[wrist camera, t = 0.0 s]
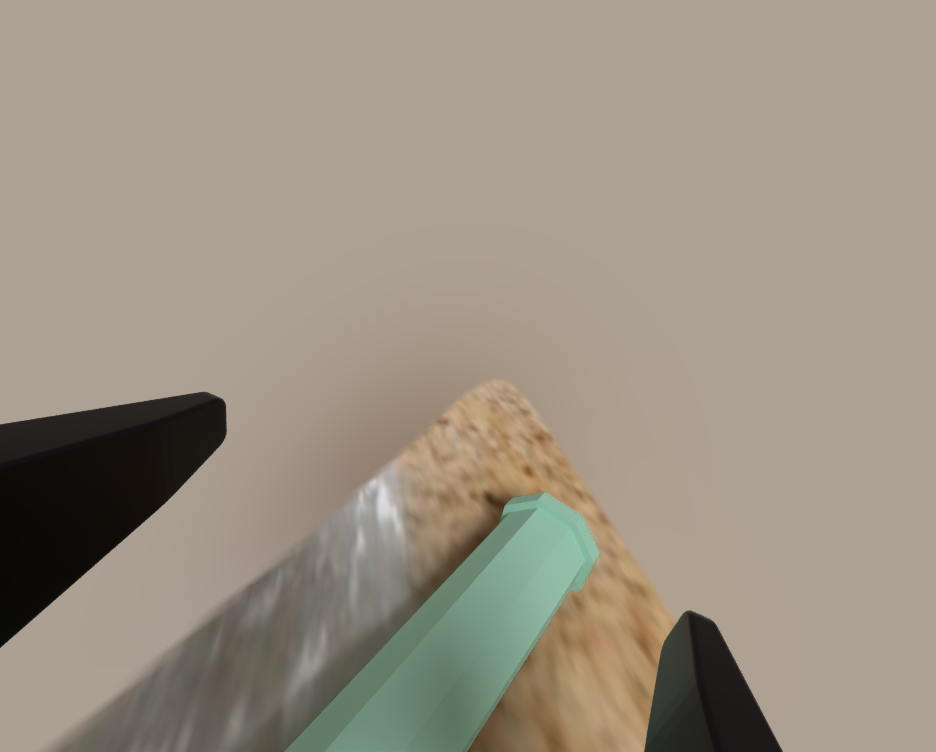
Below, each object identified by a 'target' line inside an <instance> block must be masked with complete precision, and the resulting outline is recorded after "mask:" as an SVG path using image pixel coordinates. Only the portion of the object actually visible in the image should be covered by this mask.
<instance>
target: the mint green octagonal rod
mask: <svg viewBox="0 0 936 752" xmlns="http://www.w3.org/2000/svg"><path fill="white" fill-rule="evenodd" d="M599 554H600V552H599V550H598V548H597V546H596V544H595V541H594V539H593V537H592V535H591V533H590V531H589V529H588V526H587V524H586V522H585V520H584V518H583V516H582V515H581V514H580V513H578V512H576V511H575V510H573V509H571V508H570V507H568V506H567V505H565V504H563V503H562V502H560V501H558V500H557V499H555V498H553V497H552V496H550V495H549V494H547V493H545V492H543V493H537V494H531V495H526V496H520V497H514V498H512V499H511V500H510V501H509V502H508V503H507V504H506V505H505V507H504V510H503V513H502V516H501V519H500V522H499V525H498V526H497V527H496V528H495V529H494V530H493V531H492V532H491V533H490V534H489V535H488V536H487V537H486V538H485V540H484V541H483V542H482V543H481V544H480V545H479V546H478V547H477V548H476V549H475V550H474V551H473V552H472V553H471V554H470V555H469V557H468V558H467V559H466V560H465V561H464V562H463V563H462V564H461V565H460V566H459V567H458V568H457V569H456V570H455V571H454V572H453V573H452V575H451V576H450V577H449V578H448V579H447V580H446V581H445V582H444V583H443V584H442V585H441V586H440V587H439V588H438V589H437V590H436V591H435V593H434V594H433V595H432V596H431V597H430V598H429V599H428V600H427V601H426V602H425V603H424V604H423V605H422V606H421V607H420V608H419V609H418V611H417V612H416V613H415V614H414V615H413V616H412V617H411V618H410V619H409V620H408V621H407V622H406V623H405V624H404V625H403V626H402V627H401V629H400V630H399V631H398V632H397V633H396V634H395V635H394V636H393V637H392V638H391V639H390V640H389V641H388V642H387V643H386V644H385V645H384V647H383V648H382V649H381V650H380V651H379V652H378V653H377V654H376V655H375V656H374V657H373V658H372V659H371V660H370V661H369V662H368V663H367V665H366V666H365V667H364V668H363V669H362V670H361V671H360V672H359V673H358V674H357V675H356V676H355V677H354V678H353V679H352V680H351V681H350V683H349V684H348V685H347V686H346V687H345V688H344V689H343V690H342V691H341V692H340V693H339V694H338V695H337V696H336V697H335V698H334V699H333V701H332V702H331V703H330V704H329V705H328V706H327V707H326V708H325V709H324V710H323V711H322V712H321V713H320V714H319V715H318V716H317V718H316V719H315V720H314V721H313V722H312V723H311V724H310V725H309V726H308V727H307V728H306V729H305V730H304V731H303V732H302V733H301V734H300V736H299V737H298V738H297V739H296V740H295V741H294V742H293V743H292V744H291V745H290V746H289V747H288V748H287V749H286V750H285V751H284V752H467V751H468V750H469V748H470V747H471V745H472V744H473V742H474V740H475V739H476V737H477V736H478V734H479V733H480V731H481V729H482V728H483V726H484V725H485V723H486V722H487V720H488V718H489V717H490V715H491V714H492V712H493V711H494V709H495V707H496V706H497V704H498V703H499V701H500V700H501V698H502V696H503V695H504V693H505V692H506V690H507V689H508V687H509V685H510V684H511V682H512V681H513V679H514V678H515V676H516V674H517V673H518V671H519V670H520V668H521V667H522V665H523V663H524V662H525V660H526V659H527V657H528V656H529V654H530V652H531V651H532V649H533V648H534V646H535V645H536V643H537V641H538V640H539V638H540V637H541V635H542V634H543V632H544V630H545V629H546V627H547V626H548V624H549V623H550V621H551V619H552V618H553V616H554V615H555V613H556V612H557V610H558V608H559V607H560V605H561V604H562V602H563V601H564V599H565V597H566V596H567V594H568V593H569V591H580V590H581V588H582V587H583V585H584V584H585V582H586V580H587V578H588V576H589V574H590V572H591V570H592V568H593V566H594V564H595V562H596V560H597V558H598V556H599Z"/></svg>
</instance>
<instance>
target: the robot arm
mask: <svg viewBox="0 0 936 752" xmlns="http://www.w3.org/2000/svg"><path fill="white" fill-rule="evenodd" d="M226 432H227V428H226V404H225V402H224V400H223V399H221V398H219V397H217V396H215V395H213V394H210V393H208V392H199V393H193V394H186V395H181V396H174V397H168V398H162V399H155V400H149V401H143V402H137V403H130V404H125V405H118V406H112V407H106V408H99V409H93V410H87V411H81V412H75V413H68V414H62V415H56V416H50V417H44V418H38V419H32V420H25V421H19V422H12V423H6V424H1V425H0V648H1V647H2V646H3V645H4V644H5V643H6V642H8V641H9V640H10V639H11V638H12V637H13V636H14V635H16V634H17V633H18V632H19V631H20V630H21V629H22V628H23V627H25V626H26V625H27V624H28V623H29V622H30V621H32V620H33V619H34V618H35V617H36V616H37V615H38V614H39V613H41V612H42V611H43V610H44V609H45V608H46V607H48V606H49V605H50V604H51V603H52V602H53V601H54V600H56V598H58V597H59V596H60V595H61V594H62V593H63V592H65V591H66V590H67V589H68V588H69V587H70V586H71V585H73V584H74V583H75V582H76V581H77V580H78V579H79V578H81V577H82V576H83V575H84V574H85V573H86V572H87V571H89V570H90V569H91V568H92V567H93V566H94V565H95V564H97V563H98V562H99V561H100V560H101V559H102V558H103V557H104V556H106V554H108V553H109V552H110V551H111V550H112V549H114V548H115V547H116V546H117V545H118V544H119V543H121V542H122V541H123V540H124V539H125V538H126V537H127V536H128V535H130V534H131V533H132V532H133V531H134V530H135V529H136V528H138V527H139V526H140V525H141V524H142V523H143V522H145V520H147V519H148V518H149V517H150V516H151V515H153V513H155V512H156V511H157V510H158V509H159V508H160V507H161V506H162V505H164V504H165V503H166V502H167V501H168V500H169V499H170V498H171V497H172V496H173V495H174V494H175V493H176V492H177V491H178V490H179V489H180V488H181V486H182V485H183V484H184V483H185V482H186V481H187V480H188V479H189V478H190V477H191V476H192V475H193V474H194V473H195V472H196V471H197V470H198V468H199V467H200V466H201V465H202V464H203V463H204V462H205V461H206V460H207V459H208V458H209V457H210V456H211V455H212V454H213V453H214V451H216V449H217V448H218V447H219V446H220V445H221V444H222V442H223V441H224V439H225V437H226ZM644 752H783V751H782V749H781V747H780V745H779V744H778V742H777V740H776V738H775V736H774V734H773V732H772V730H771V728H770V726H769V725H768V723H767V721H766V719H765V717H764V715H763V713H762V711H761V709H760V707H759V705H758V703H757V702H756V700H755V698H754V696H753V694H752V692H751V690H750V688H749V686H748V684H747V682H746V680H745V679H744V677H743V675H742V673H741V671H740V669H739V667H738V665H737V663H736V661H735V660H734V658H733V656H732V654H731V652H730V650H729V648H728V646H727V644H726V642H725V640H724V638H723V637H722V635H721V633H720V631H719V629H718V627H717V625H716V624H715V623H714V622H713V621H712V620H711V619H709V618H706V617H704V616H702V615H700V614H698V613H695V612H693V611H686V612H684V613H683V615H682V616H681V617H680V619H679V620H678V622H677V623H676V625H675V626H674V628H673V629H672V631H671V632H670V633H669V635H668V636H667V638H666V640H665V642H664V644H663V647H662V650H661V654H660V660H659V666H658V672H657V678H656V684H655V689H654V695H653V701H652V707H651V713H650V719H649V725H648V731H647V737H646V744H645V751H644Z"/></svg>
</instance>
